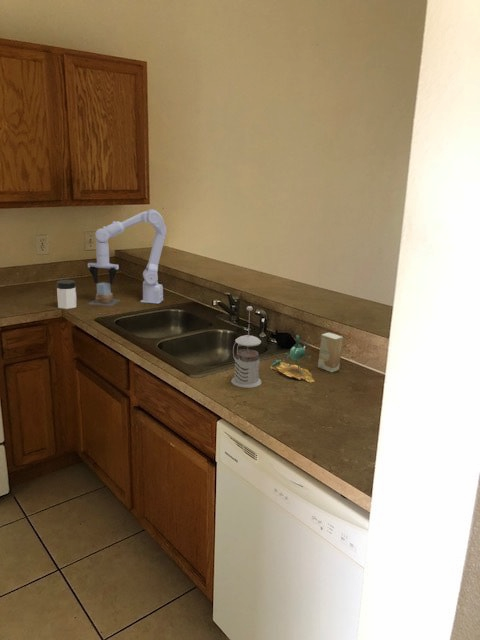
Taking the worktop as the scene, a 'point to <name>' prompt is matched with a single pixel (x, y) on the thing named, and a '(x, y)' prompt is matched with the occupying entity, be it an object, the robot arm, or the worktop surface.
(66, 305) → the jar
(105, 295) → the slab upper
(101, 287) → the blue cube
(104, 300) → the tan cardboard box
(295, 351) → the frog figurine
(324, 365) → the skincare box
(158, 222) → the robot arm
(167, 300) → the worktop surface
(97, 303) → the mat
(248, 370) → the french press
